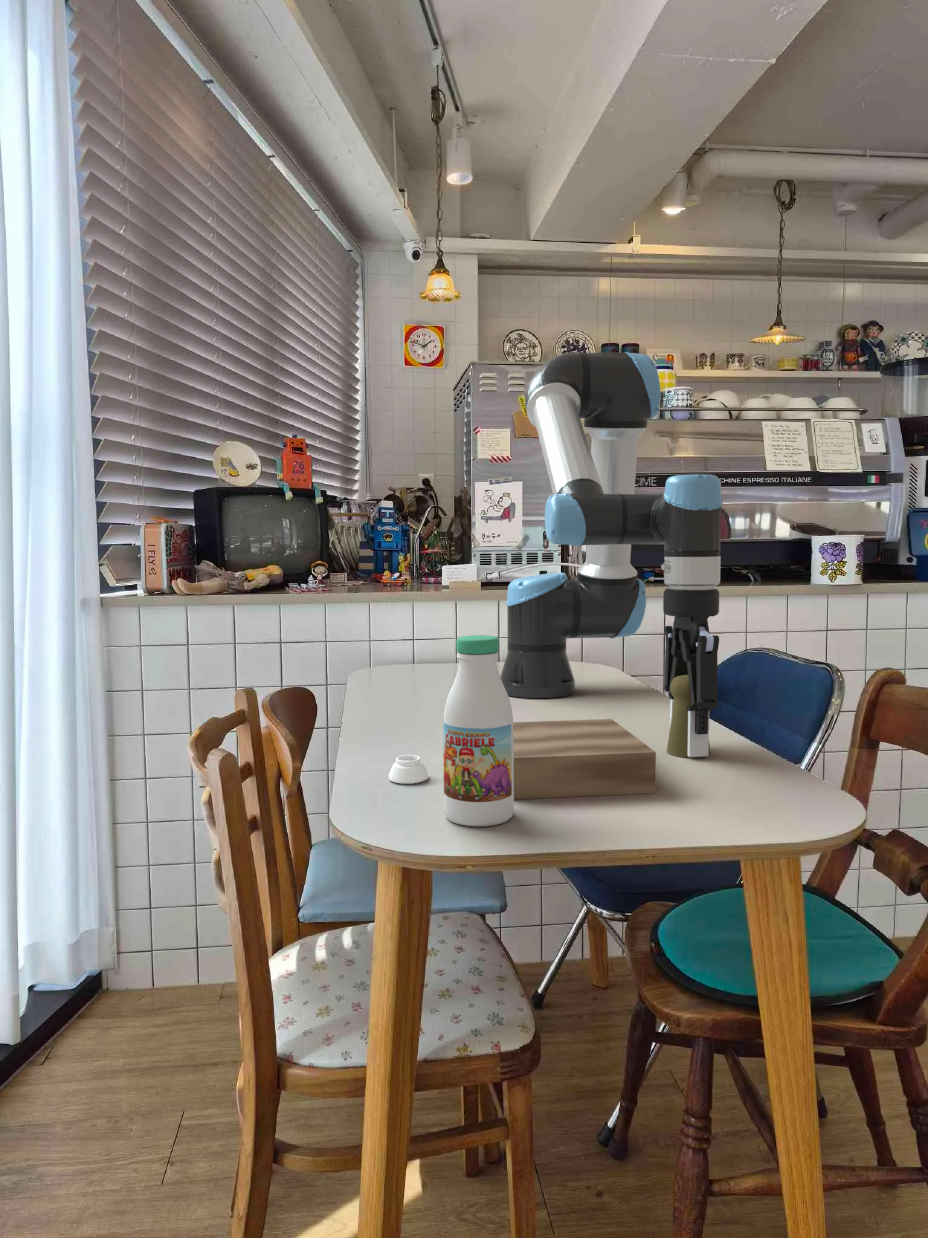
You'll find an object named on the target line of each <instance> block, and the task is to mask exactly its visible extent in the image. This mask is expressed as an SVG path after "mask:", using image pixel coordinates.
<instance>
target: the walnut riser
mask: <svg viewBox="0 0 928 1238" xmlns="http://www.w3.org/2000/svg"><path fill="white" fill-rule="evenodd" d="M513 747H514V801H515V800H533V799H554V798H558V799H559V798H574V797H577V798H578V797H594V796H595V797H596V796H597V797H598V796H615V795H616V796H617V795H618V796H619V795H638V794H656V775H657V774H656V768H657V767H656V765H657V764H656V760H657V752H656V751H655V750H654V749H652V747H650V746H648V745H647V744H646V743H645V742H643V741H642V740H641V739H639V738H638V737H636V736H635V735H634V734H632V732H630V731H628V730H627V729H626V728H624V727H623V726H622V725H620V724H619V723H618V722H617V721H615V720H613V719H612V718H600V719H599V718H596V719H571V720H570V719H568V720H544V721H543V720H541V721H516V722H514V721H513Z"/></svg>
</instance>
